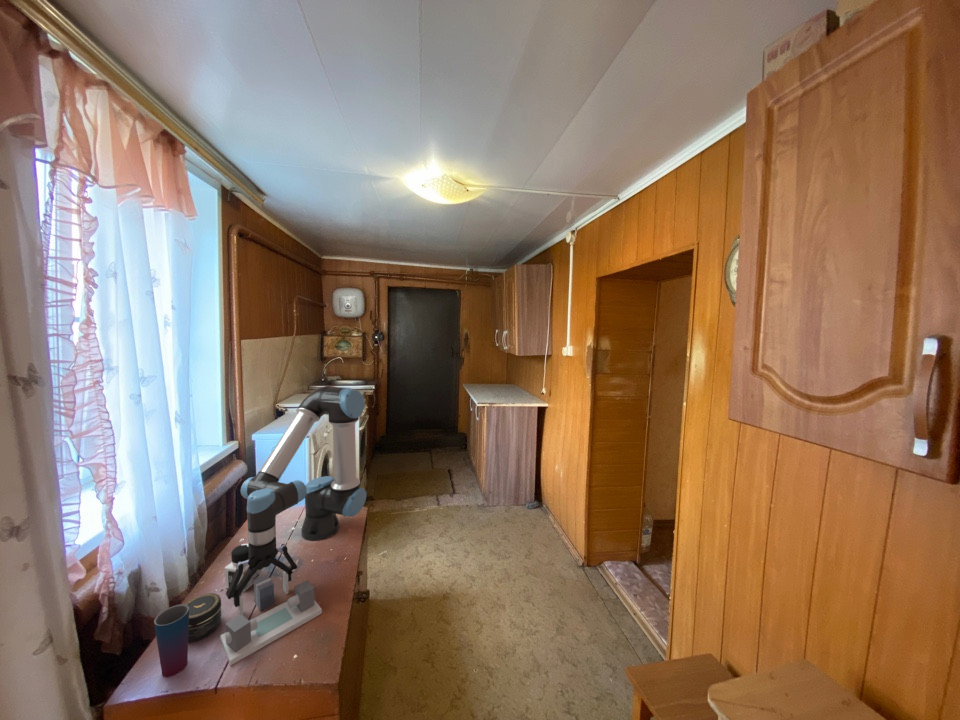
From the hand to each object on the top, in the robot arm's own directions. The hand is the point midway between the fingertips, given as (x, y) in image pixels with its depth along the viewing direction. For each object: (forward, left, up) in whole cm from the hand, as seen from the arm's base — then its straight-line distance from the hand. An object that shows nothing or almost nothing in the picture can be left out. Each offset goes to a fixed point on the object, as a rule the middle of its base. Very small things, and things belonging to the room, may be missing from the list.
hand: (264, 602), depth 114 cm
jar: (+16, -2, 0) cm, 16 cm away
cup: (+23, +8, 0) cm, 24 cm away
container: (+2, -15, 0) cm, 15 cm away
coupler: (0, 0, 0) cm, 0 cm away
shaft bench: (+1, +12, 0) cm, 12 cm away
